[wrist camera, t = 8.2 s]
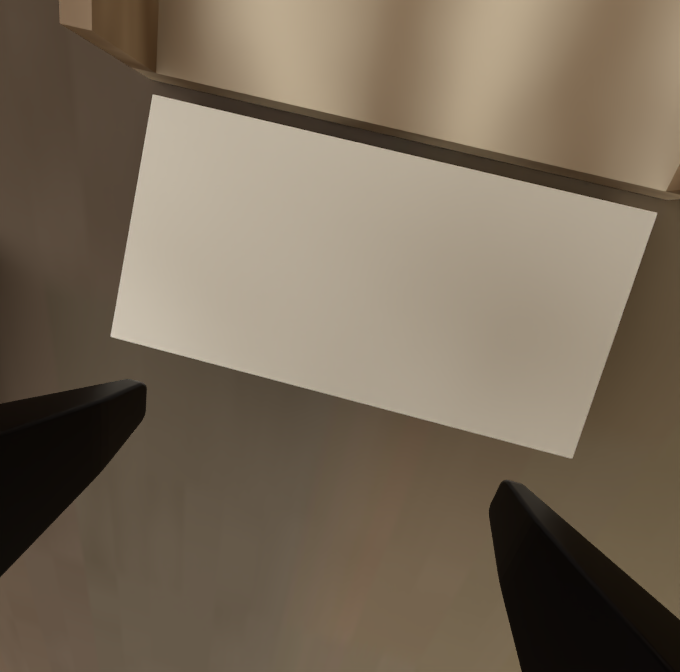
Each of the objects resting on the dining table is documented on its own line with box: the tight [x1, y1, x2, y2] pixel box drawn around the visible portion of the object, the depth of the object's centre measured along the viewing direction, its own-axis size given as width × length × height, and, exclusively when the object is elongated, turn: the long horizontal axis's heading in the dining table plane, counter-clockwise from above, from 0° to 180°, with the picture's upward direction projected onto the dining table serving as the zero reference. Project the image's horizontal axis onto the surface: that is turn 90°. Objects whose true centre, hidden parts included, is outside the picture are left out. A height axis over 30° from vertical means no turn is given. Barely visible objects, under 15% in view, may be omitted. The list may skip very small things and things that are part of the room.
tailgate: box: [111, 95, 657, 459], centre depth 13 cm, size 18×2×9 cm
